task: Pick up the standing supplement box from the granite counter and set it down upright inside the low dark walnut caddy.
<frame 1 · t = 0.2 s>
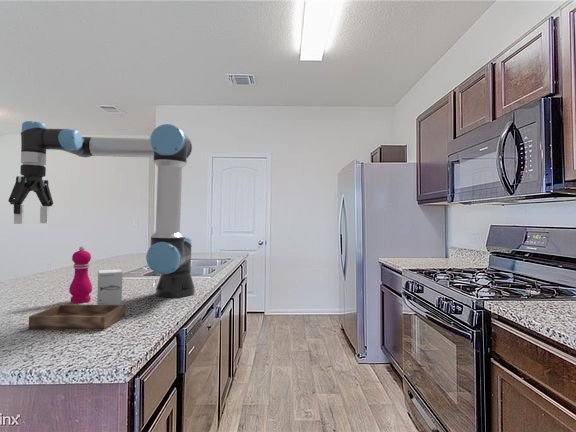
hand: (32, 223, 131), 28 cm above the countertop, fingers open, 13 cm apart
walnut caddy: (80, 322, 105), on the countertop
supplement box: (109, 308, 122), on the countertop
pepper mill: (80, 302, 131), on the countertop
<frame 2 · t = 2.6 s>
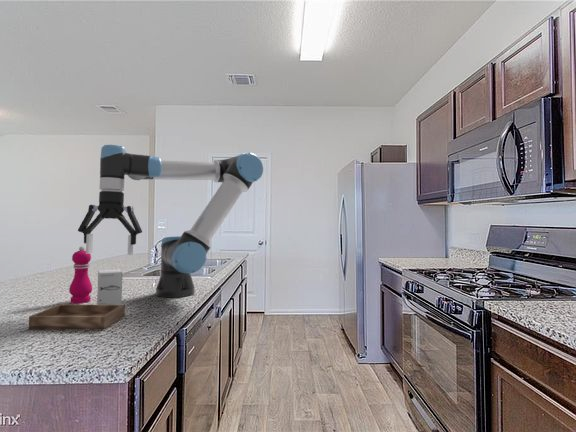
hand: (109, 254, 122), 18 cm above the countertop, fingers open, 13 cm apart
nothing on the countertop moved.
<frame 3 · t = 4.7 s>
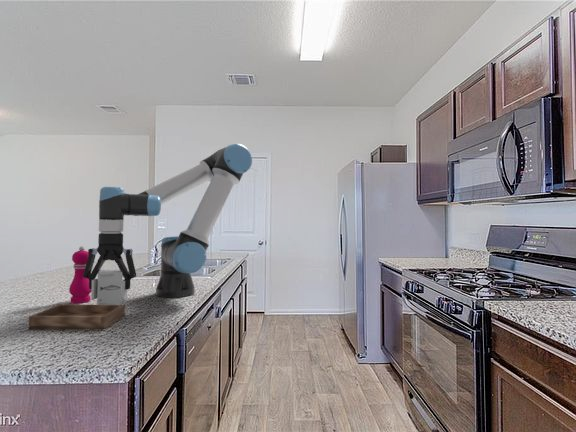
hand: (109, 298, 122), 3 cm above the countertop, fingers closed on supplement box, 9 cm apart
supplement box: (109, 308, 122), on the countertop, touching gripper
everything else where it was.
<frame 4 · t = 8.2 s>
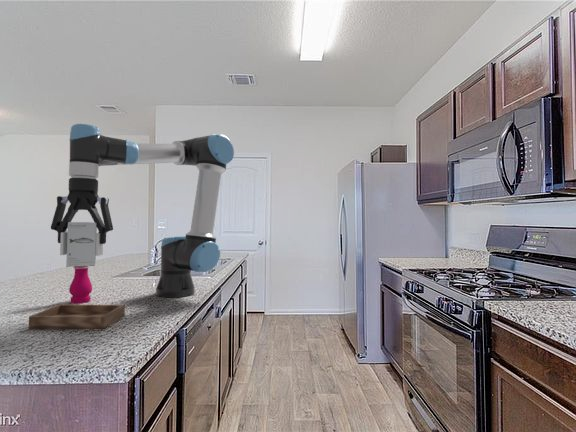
hand: (81, 254, 106), 20 cm above the countertop, fingers closed on supplement box, 9 cm apart
supplement box: (81, 266, 106), point 16 cm above the countertop, touching gripper
everything else where it was.
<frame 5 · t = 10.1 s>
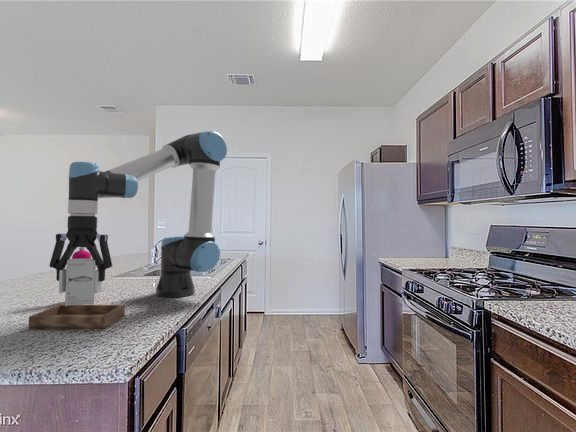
hand: (80, 292, 105), 9 cm above the countertop, fingers closed on supplement box, 9 cm apart
supplement box: (80, 303, 105), point 6 cm above the countertop, touching gripper
everything else where it was.
when the fingers open (6 cm above the countertop, at t = 11.6 s): supplement box drops 2 cm, resting on walnut caddy.
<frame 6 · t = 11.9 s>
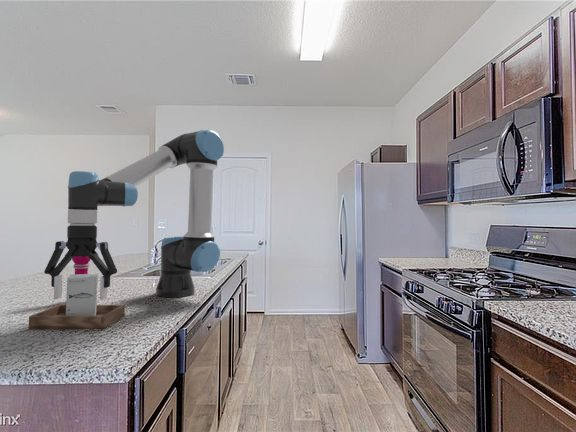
hand: (80, 298, 105), 7 cm above the countertop, fingers open, 12 cm apart
supplement box: (81, 319, 106), point 1 cm above the countertop, touching walnut caddy
everything else where it was.
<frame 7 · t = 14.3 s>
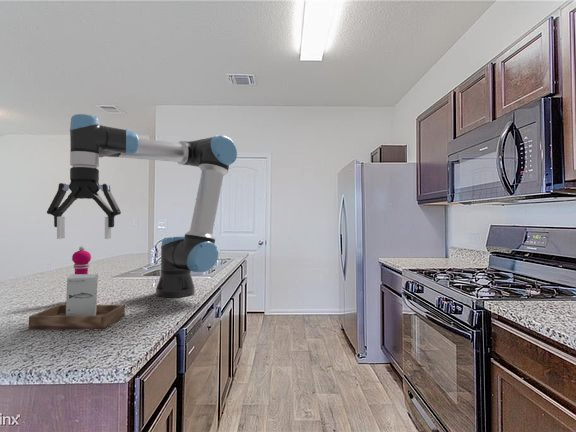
hand: (84, 238, 109), 24 cm above the countertop, fingers open, 13 cm apart
nothing on the countertop moved.
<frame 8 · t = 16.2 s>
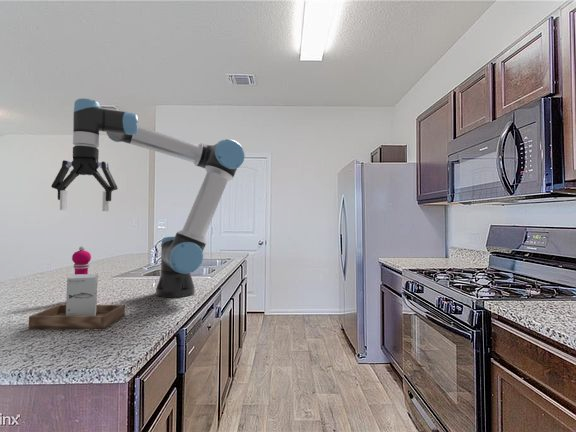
hand: (84, 210, 120), 33 cm above the countertop, fingers open, 13 cm apart
nothing on the countertop moved.
at the end: supplement box inside the target area on the walnut caddy (0.4 cm from its centre), point 0.8 cm above the walnut caddy's base; supplement box tilted 0°; the gripper is holding nothing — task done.
